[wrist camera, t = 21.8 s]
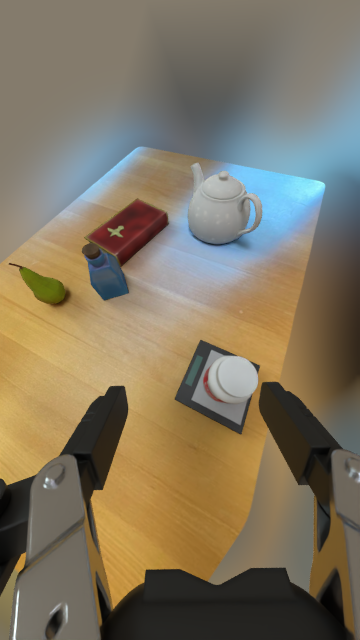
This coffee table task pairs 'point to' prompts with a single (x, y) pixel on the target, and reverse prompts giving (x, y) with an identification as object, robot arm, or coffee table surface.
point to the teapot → (220, 208)
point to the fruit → (43, 286)
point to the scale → (198, 399)
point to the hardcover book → (129, 230)
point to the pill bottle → (230, 380)
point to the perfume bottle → (104, 272)
